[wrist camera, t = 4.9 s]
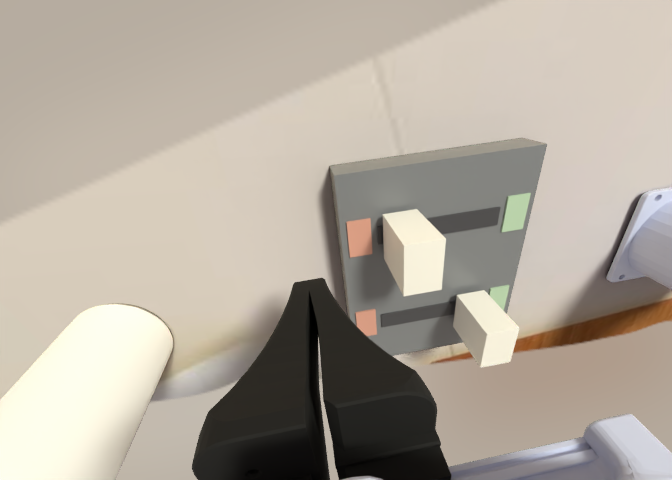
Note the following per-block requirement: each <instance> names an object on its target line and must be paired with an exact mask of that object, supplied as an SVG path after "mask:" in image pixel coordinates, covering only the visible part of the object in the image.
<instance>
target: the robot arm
mask: <svg viewBox="0 0 672 480" xmlns="http://www.w3.org/2000/svg"><path fill="white" fill-rule="evenodd" d="M646 276H647V277H649V278H651V279H653V280H654V281H656V282H658V283H660V284H662V285H663V286H665V287H667V288H669V289H671V290H672V187H670V188H664V189H658V190H652V191H648V192H645V193H644V194H643V195H642V196H641V197H640V200H639V202H638V204H637V207H636V209H635V211H634V214H633V216H632V218H631V221H630V223H629V225H628V228H627V230H626V232H625V235H624V237H623V239H622V242H621V244H620V246H619V249H618V251H617V253H616V256H615V258H614V260H613V263H612V265H611V267H610V270H609V272H608V274H607V277H606V279H607V280H608V281H610V282H619V281H624V280H630V279H635V278H641V277H646ZM318 337H319V344H320V355H321V368H322V383H323V399H324V404H325V409H326V414H327V418H328V423H329V428H330V432H331V437H332V441H333V450H334V458H335V466H336V469H337V472H338V477H339V480H672V453H671V452H670V451H669V450H668V449H667V448H666V447H665V446H664V445H663V444H662V443H661V442H660V441H659V440H658V439H657V438H656V437H655V436H654V435H653V434H652V433H651V432H650V431H649V430H648V429H646V427H644V426H643V425H642V424H641V423H640V422H639V421H638V420H637V419H636V418H635V417H634V416H633V415H632V414H623V415H618V416H614V417H609V418H605V419H601V420H597V421H595V422H593V423H591V424H590V425H589V426H588V427H587V428H586V429H585V432H584V436H583V437H580V438H575V439H571V440H566V441H562V442H558V443H553V444H548V445H544V446H540V447H535V448H531V449H526V450H522V451H518V452H513V453H508V454H504V455H499V456H495V457H491V458H486V459H482V460H477V461H473V462H468V463H464V464H459V465H455V466H450V467H448V465H447V463H446V460H445V458H444V456H443V453H442V451H441V448H440V445H441V443H440V440H439V437H438V435H437V432H436V430H435V426H436V416H437V407H436V403H435V401H434V398H433V397H432V395H431V393H430V391H429V390H428V388H427V386H426V385H425V383H424V382H423V380H422V379H421V378H420V376H419V375H418V374H417V372H416V371H415V370H413V369H411V368H410V367H408V366H406V365H405V364H403V363H402V362H400V361H398V360H397V359H395V358H394V357H393V356H391V355H390V354H388V353H387V352H385V351H384V350H383V349H382V348H381V347H379V346H378V345H377V344H376V343H374V342H373V341H372V340H371V339H369V338H368V337H367V336H366V335H365V334H364V333H363V332H362V331H361V330H360V329H359V328H358V327H357V326H356V325H355V324H354V323H353V322H352V321H351V320H350V318H349V317H348V316H347V315H346V314H345V312H344V311H343V310H342V308H341V307H340V306H339V304H338V303H337V301H336V300H335V299H334V297H333V295H332V294H331V292H330V290H329V288H328V286H327V284H326V282H325V279H323V278H318V279H312V280H307V281H301V282H295V283H294V285H293V288H292V291H291V294H290V297H289V300H288V303H287V305H286V307H285V310H284V312H283V314H282V317H281V319H280V321H279V323H278V325H277V327H276V328H275V330H274V332H273V334H272V336H271V337H270V339H269V341H268V342H267V344H266V346H265V347H264V349H263V350H262V352H261V353H260V354H259V356H258V357H257V359H256V360H255V361H254V363H253V364H252V365H251V367H250V368H249V369H248V370H247V372H246V373H245V374H244V375H243V376H242V377H241V379H240V380H239V381H238V382H237V383H236V384H235V386H234V387H233V388H232V389H231V390H230V391H229V392H228V393H227V394H226V395H225V396H224V397H223V398H222V399H221V400H220V401H219V402H218V403H217V404H216V405H215V406H214V407H213V408H212V409H211V410H210V411H209V412H208V414H207V416H206V419H205V422H204V424H203V427H202V430H201V433H200V435H199V439H198V443H197V447H196V451H195V455H194V459H193V464H192V470H193V472H194V475H195V476H196V477H197V479H198V480H330V478H329V469H328V461H327V453H326V445H325V436H324V427H323V419H322V410H321V401H320V392H319V365H318Z"/></svg>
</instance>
